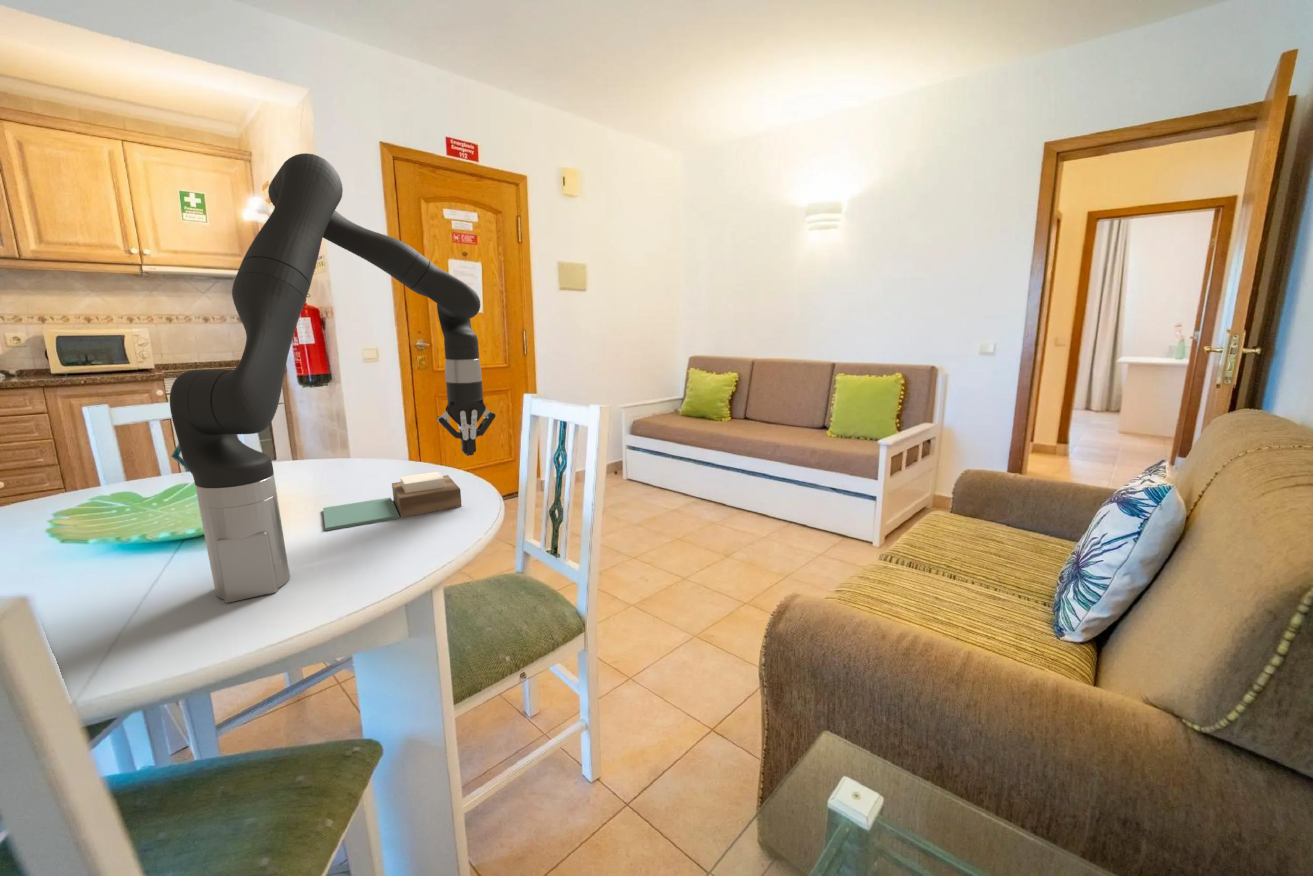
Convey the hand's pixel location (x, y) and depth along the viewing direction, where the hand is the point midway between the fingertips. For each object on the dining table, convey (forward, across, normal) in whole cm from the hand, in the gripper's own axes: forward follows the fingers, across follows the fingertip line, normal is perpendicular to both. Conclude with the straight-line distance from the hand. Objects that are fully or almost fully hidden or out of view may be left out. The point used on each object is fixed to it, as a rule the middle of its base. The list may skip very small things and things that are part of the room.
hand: (469, 454), depth 122 cm
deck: (+10, -10, 0) cm, 14 cm away
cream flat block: (+6, -10, 0) cm, 12 cm away
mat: (+10, -23, 0) cm, 25 cm away
